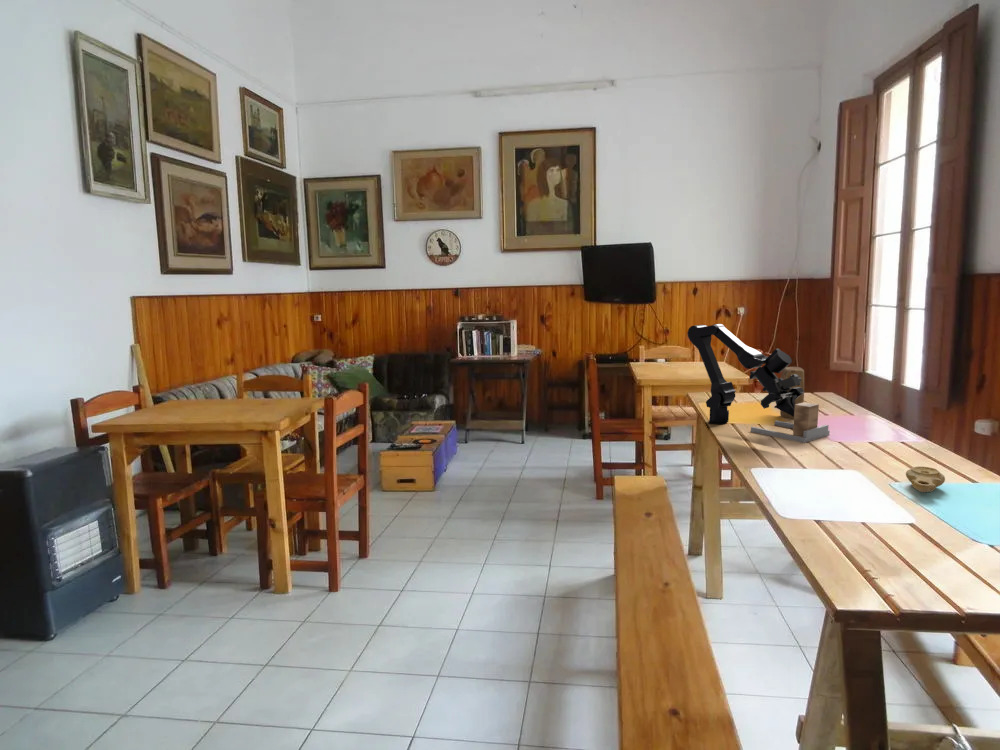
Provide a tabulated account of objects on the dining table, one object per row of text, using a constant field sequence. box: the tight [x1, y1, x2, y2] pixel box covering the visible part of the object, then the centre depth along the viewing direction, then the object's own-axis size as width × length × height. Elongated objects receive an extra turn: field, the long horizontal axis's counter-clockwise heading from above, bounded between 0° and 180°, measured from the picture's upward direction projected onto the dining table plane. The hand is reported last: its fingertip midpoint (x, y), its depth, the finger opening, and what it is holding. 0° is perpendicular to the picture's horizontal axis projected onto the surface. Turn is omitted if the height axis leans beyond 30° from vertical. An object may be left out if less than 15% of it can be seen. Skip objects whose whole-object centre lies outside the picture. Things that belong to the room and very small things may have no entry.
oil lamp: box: [905, 466, 946, 493], centre depth 164 cm, size 11×14×5 cm
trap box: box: [750, 419, 831, 444], centre depth 218 cm, size 19×16×5 cm
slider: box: [792, 401, 819, 437], centre depth 213 cm, size 5×6×11 cm
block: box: [779, 366, 805, 421], centre depth 245 cm, size 11×8×20 cm
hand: (797, 417), depth 215 cm, fingers closed, pressing on slider
